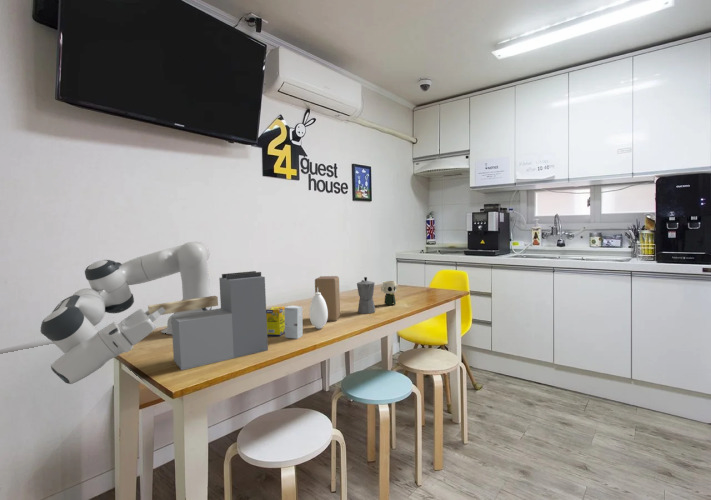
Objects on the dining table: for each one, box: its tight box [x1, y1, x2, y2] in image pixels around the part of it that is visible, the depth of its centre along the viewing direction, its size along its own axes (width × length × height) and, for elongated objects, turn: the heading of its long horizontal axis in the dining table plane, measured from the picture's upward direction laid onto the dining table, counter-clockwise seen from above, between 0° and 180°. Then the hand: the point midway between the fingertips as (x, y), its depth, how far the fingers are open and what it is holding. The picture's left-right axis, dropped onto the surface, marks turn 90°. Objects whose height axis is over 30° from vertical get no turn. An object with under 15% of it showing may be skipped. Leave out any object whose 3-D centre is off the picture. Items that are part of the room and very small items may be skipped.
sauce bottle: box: [308, 287, 328, 330], centre depth 154 cm, size 8×8×18 cm
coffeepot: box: [356, 276, 376, 315], centre depth 184 cm, size 15×9×18 cm, turn 12°
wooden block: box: [314, 275, 341, 322], centre depth 170 cm, size 10×10×20 cm
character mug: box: [380, 280, 399, 306], centre depth 200 cm, size 11×7×13 cm, turn 117°
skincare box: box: [284, 305, 304, 340], centre depth 142 cm, size 6×4×12 cm
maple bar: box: [147, 295, 219, 316], centre depth 115 cm, size 20×3×3 cm, turn 127°
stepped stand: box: [170, 270, 269, 371], centre depth 122 cm, size 28×12×28 cm, turn 127°
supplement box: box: [266, 306, 286, 337], centre depth 146 cm, size 6×6×11 cm
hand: (162, 307), depth 111 cm, fingers closed on maple bar, 3 cm apart
